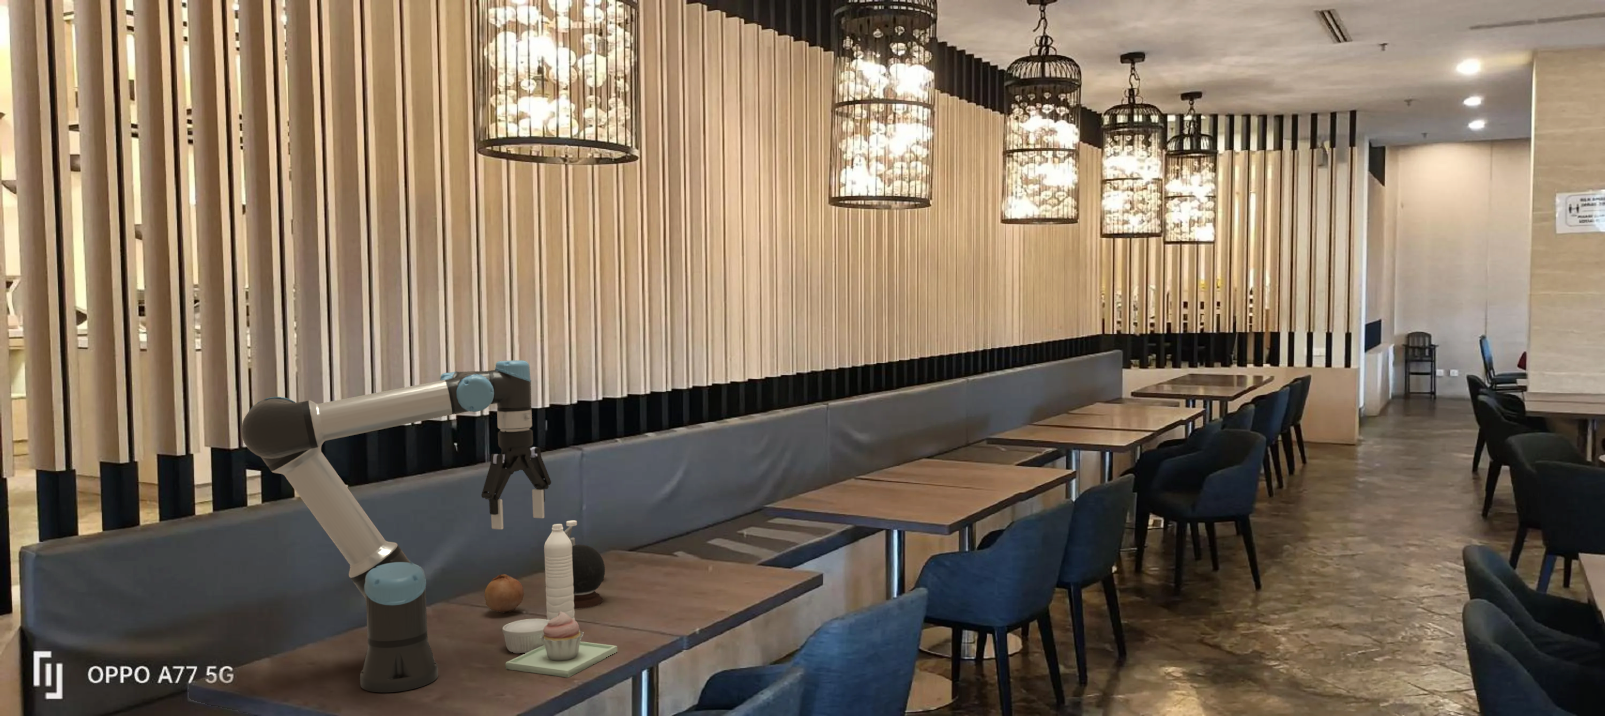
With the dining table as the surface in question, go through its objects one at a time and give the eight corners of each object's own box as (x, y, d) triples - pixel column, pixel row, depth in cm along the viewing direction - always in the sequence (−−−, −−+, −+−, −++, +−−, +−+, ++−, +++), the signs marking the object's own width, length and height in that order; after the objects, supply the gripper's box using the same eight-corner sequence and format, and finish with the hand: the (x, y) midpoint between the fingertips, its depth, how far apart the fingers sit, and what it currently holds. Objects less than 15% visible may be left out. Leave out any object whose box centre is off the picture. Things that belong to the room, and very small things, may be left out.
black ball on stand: (602, 594, 302) (600, 538, 301) (609, 606, 290) (607, 547, 289) (551, 599, 298) (549, 542, 297) (557, 611, 286) (554, 552, 285)
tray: (567, 677, 235) (567, 670, 235) (505, 668, 241) (505, 662, 241) (617, 652, 251) (617, 645, 251) (558, 644, 258) (557, 638, 258)
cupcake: (550, 649, 251) (548, 604, 251) (590, 650, 250) (589, 605, 249) (533, 662, 242) (532, 616, 242) (575, 664, 241) (574, 617, 240)
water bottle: (558, 634, 266) (555, 528, 265) (541, 629, 270) (537, 525, 269) (588, 625, 273) (584, 521, 272) (570, 620, 277) (566, 519, 276)
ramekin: (499, 645, 259) (498, 622, 259) (548, 638, 264) (548, 615, 263) (507, 658, 249) (506, 634, 249) (558, 651, 253) (558, 627, 253)
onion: (488, 620, 279) (487, 580, 279) (482, 611, 288) (481, 572, 287) (527, 615, 283) (526, 575, 283) (520, 606, 292) (519, 567, 291)
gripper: (488, 436, 243) (492, 534, 244) (564, 423, 265) (567, 514, 266) (462, 435, 246) (466, 532, 247) (539, 422, 268) (542, 512, 269)
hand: (518, 523), depth 257 cm, fingers open, 13 cm apart
